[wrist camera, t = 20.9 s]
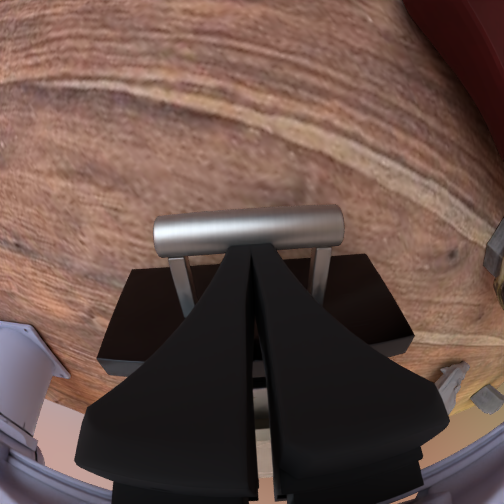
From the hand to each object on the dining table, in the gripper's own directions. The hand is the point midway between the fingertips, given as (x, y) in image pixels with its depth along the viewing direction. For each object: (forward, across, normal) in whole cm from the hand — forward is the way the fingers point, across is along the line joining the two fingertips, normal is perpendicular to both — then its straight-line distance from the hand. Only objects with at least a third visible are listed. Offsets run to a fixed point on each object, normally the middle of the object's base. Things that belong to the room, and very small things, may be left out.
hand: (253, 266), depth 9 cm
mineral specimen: (+5, -53, +46) cm, 70 cm away
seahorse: (+5, -27, +28) cm, 39 cm away
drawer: (+4, 0, +8) cm, 8 cm away
